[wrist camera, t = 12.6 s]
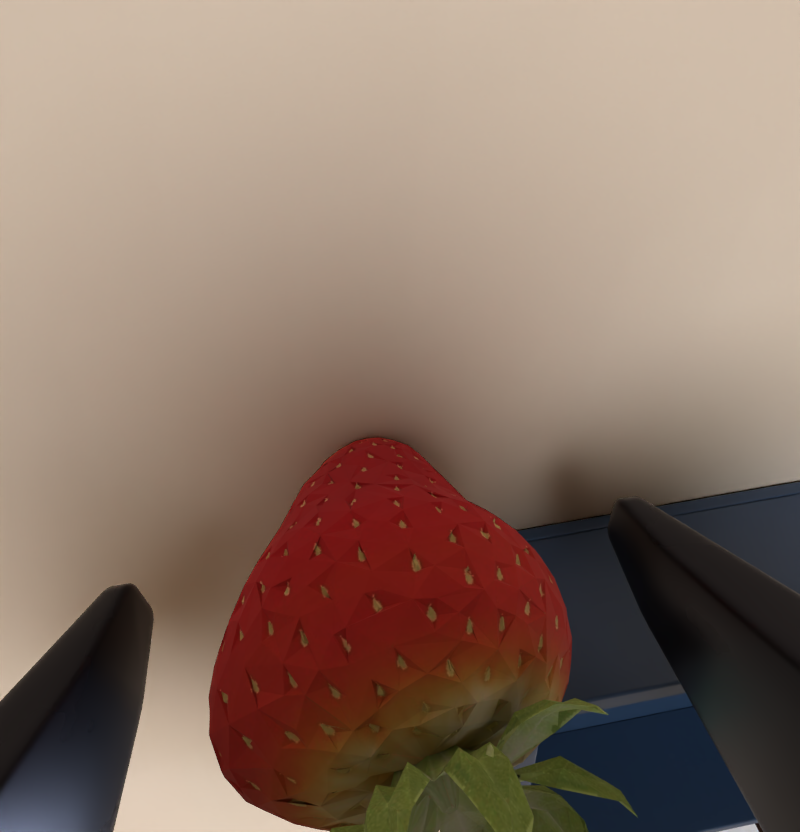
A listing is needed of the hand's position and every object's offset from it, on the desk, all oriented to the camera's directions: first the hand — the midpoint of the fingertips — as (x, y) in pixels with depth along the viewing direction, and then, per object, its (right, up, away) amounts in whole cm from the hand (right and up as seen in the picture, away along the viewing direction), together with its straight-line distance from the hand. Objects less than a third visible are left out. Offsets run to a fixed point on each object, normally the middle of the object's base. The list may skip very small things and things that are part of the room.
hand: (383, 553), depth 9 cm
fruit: (0, +2, +2) cm, 3 cm away
